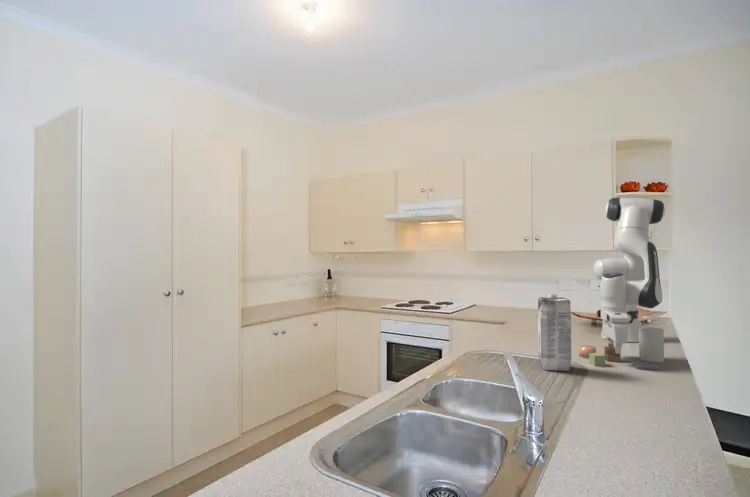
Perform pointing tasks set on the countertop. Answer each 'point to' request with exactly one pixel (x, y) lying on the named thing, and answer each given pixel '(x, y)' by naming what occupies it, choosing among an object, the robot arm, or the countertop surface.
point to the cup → (651, 344)
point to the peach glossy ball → (586, 350)
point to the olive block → (597, 359)
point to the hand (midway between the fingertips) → (614, 350)
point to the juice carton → (554, 333)
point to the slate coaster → (645, 365)
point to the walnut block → (611, 354)
